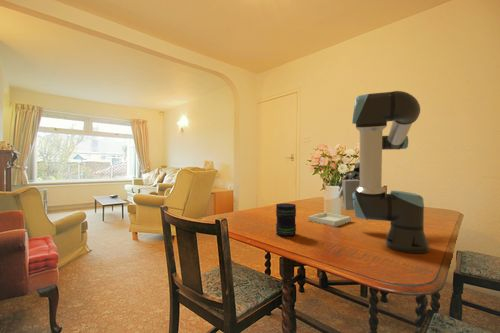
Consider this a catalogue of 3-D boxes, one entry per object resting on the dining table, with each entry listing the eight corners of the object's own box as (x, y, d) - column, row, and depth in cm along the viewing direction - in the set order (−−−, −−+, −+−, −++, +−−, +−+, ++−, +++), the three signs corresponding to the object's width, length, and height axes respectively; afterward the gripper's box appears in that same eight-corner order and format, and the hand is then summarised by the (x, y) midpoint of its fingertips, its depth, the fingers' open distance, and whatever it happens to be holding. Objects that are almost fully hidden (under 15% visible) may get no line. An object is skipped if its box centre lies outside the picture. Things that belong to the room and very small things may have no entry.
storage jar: (282, 230, 126) (282, 202, 126) (299, 234, 120) (299, 204, 120) (272, 235, 118) (272, 205, 118) (289, 239, 112) (289, 207, 112)
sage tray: (334, 226, 134) (334, 221, 134) (308, 221, 147) (308, 216, 147) (350, 221, 145) (350, 216, 145) (324, 216, 159) (324, 212, 159)
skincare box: (357, 208, 130) (357, 179, 130) (362, 210, 123) (362, 179, 123) (341, 208, 131) (341, 179, 131) (345, 210, 124) (345, 179, 124)
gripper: (385, 172, 129) (373, 204, 118) (346, 171, 146) (332, 199, 136) (381, 162, 125) (368, 194, 115) (341, 163, 142) (326, 191, 132)
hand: (348, 197), depth 125 cm, fingers closed on skincare box, 10 cm apart
